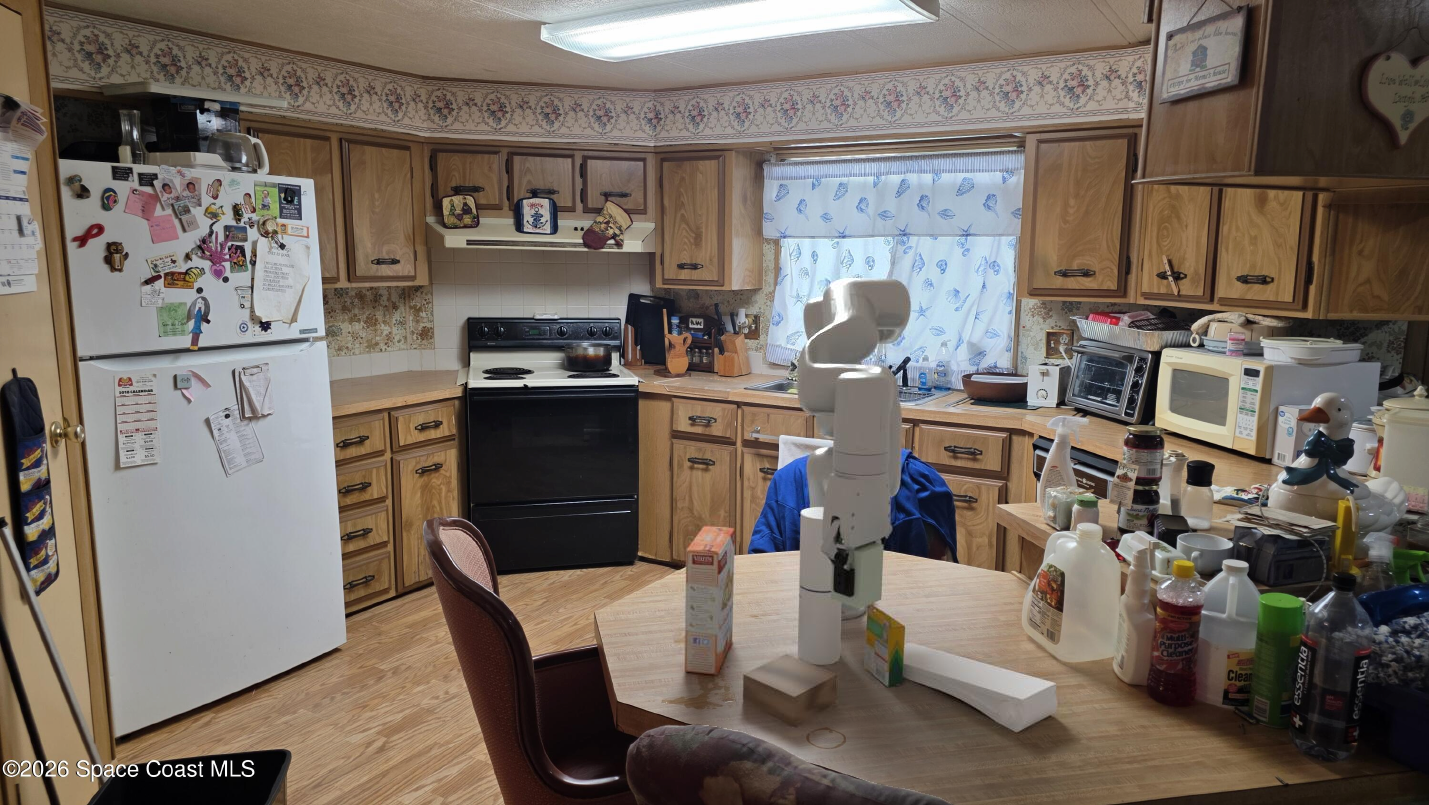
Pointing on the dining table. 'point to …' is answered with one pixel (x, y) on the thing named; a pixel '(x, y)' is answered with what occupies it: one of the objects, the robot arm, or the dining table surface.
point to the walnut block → (789, 690)
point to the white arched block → (983, 686)
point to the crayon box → (884, 647)
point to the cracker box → (709, 599)
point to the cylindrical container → (816, 596)
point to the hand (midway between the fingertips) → (856, 587)
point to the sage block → (864, 576)
